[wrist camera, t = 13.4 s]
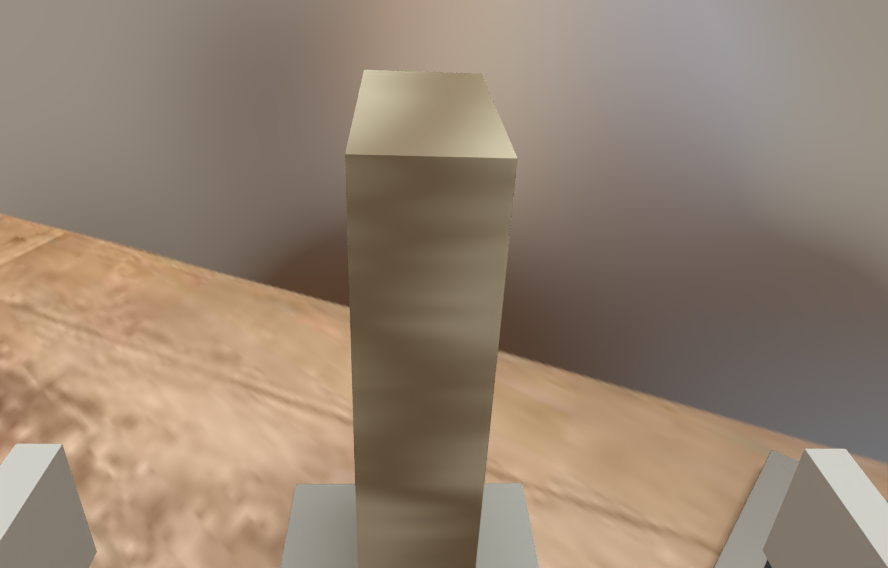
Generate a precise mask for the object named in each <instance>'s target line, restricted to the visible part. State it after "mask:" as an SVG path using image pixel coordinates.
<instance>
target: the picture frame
mask: <svg viewBox="0 0 888 568" xmlns="http://www.w3.org/2000/svg"><path fill="white" fill-rule="evenodd" d="M798 464H799V462H798V461H796V460H794V459H791V458H789V457H787V456H785V455H782V454H780V453H778V452H776V451H773V450H771V452H770V454H769V456H768V458H767V460H766V462H765V464H764V466H763V468H762V470H761V472H760V474H759V476H758V478H757V480H756V482H755V484H754V486H753V488H752V490H751V492H750V494H749V496H748V499H747V501H746V503H745V505H744V507H743V509H742V511H741V513H740V515H739V517H738V519H737V521H736V523H735V525H734V527H733V529H732V531H731V533H730V535H729V537H728V539H727V541H726V543H725V545H724V548H723V550H722V552H721V554H720V556H719V558H718V560H717V562H716V564H715V566H714V568H772V567H771V565H770V563H769V561H768V559H767V558H766V556H765V554H764V552H763V548H764V546H765V543H766V541H767V538H768V536H769V534H770V531H771V529H772V526H773V524H774V522H775V519H776V517H777V514H778V512H779V510H780V507H781V505H782V502H783V500H784V498H785V495H786V493H787V490H788V488H789V486H790V483H791V481H792V478H793V476H794V474H795V471H796V469H797V466H798ZM885 501H886V502H887V503H888V501H887V500H885Z"/></svg>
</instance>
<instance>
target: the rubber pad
mask: <svg viewBox="0 0 888 568" xmlns="http://www.w3.org/2000/svg"><path fill="white" fill-rule="evenodd" d="M280 568H358V555H357V523H356V490H355V484H296V487H295V492H294V498H293V503H292V508H291V514H290V519H289V524H288V530H287V535H286V541H285V546H284V551H283V557H282V562H281V567H280ZM476 568H539V566H538V561H537V555H536V550H535V545H534V540H533V535H532V530H531V525H530V520H529V515H528V510H527V505H526V500H525V495H524V490H523V484H522V483H484V491H483V501H482V510H481V520H480V530H479V540H478V550H477V559H476Z"/></svg>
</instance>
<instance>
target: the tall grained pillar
mask: <svg viewBox="0 0 888 568" xmlns="http://www.w3.org/2000/svg"><path fill="white" fill-rule="evenodd" d="M345 162H346V163H345V164H346V198H347V231H348V263H349V296H350V328H351V361H352V393H353V426H354V458H355V490H356V523H357V555H358V568H476V559H477V550H478V540H479V530H480V520H481V510H482V501H483V491H484V481H485V471H486V461H487V452H488V442H489V432H490V422H491V413H492V403H493V393H494V383H495V373H496V364H497V354H498V343H499V334H500V324H501V315H502V304H503V295H504V285H505V275H506V266H507V256H508V246H509V236H510V226H511V217H512V206H513V197H514V187H515V178H516V167H517V156H516V154H515V152H514V149H513V147H512V145H511V142H510V140H509V138H508V135H507V133H506V130H505V128H504V126H503V123H502V121H501V119H500V117H499V114H498V112H497V109H496V107H495V105H494V102H493V100H492V98H491V96H490V93H489V91H488V88H487V86H486V84H485V81H484V79H483V77H482V74H472V73H442V72H411V71H382V70H364V73H363V78H362V82H361V87H360V91H359V95H358V100H357V104H356V109H355V113H354V117H353V122H352V126H351V131H350V135H349V139H348V144H347V148H346V153H345Z"/></svg>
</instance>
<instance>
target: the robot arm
mask: <svg viewBox="0 0 888 568" xmlns="http://www.w3.org/2000/svg"><path fill="white" fill-rule="evenodd" d="M96 552H97V551H96V548H95V545H94V541H93V538H92V535H91V532H90V529H89V526H88V523H87V520H86V517H85V513H84V510H83V507H82V504H81V501H80V498H79V495H78V492H77V489H76V485H75V482H74V479H73V476H72V473H71V470H70V467H69V464H68V461H67V457H66V454H65V451H64V448H63V445H62V444H16V445H15V446H14V447H13V449H12V450H11V452H10V453H9V454H8V456H7V457H6V458H5V460H4V461H3V463H2V464H1V465H0V568H89V566H90V564H91V562H92V560H93V558H94V556H95V554H96ZM763 552H764V554H765V556H766V558H767V559H768V561H769V563H770V565H771V567H772V568H888V503H887V502H886V501H885V499H884V498H883V497H882V495H881V494H880V493H879V492H878V490H877V489H876V488H875V486H874V485H873V484H872V482H871V481H870V480H869V479H868V477H867V476H866V475H865V473H864V472H863V471H862V470H861V468H860V467H859V466H858V464H857V463H856V462H855V461H854V459H853V458H852V457H851V455H850V454H849V453H848V451H847V450H846V449H805V450H804V452H803V454H802V457H801V459H800V462H799V464H798V466H797V469H796V471H795V474H794V476H793V478H792V481H791V483H790V486H789V488H788V490H787V493H786V495H785V498H784V500H783V502H782V505H781V507H780V510H779V512H778V514H777V517H776V519H775V522H774V524H773V526H772V529H771V531H770V534H769V536H768V538H767V541H766V543H765V546H764V548H763Z"/></svg>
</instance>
